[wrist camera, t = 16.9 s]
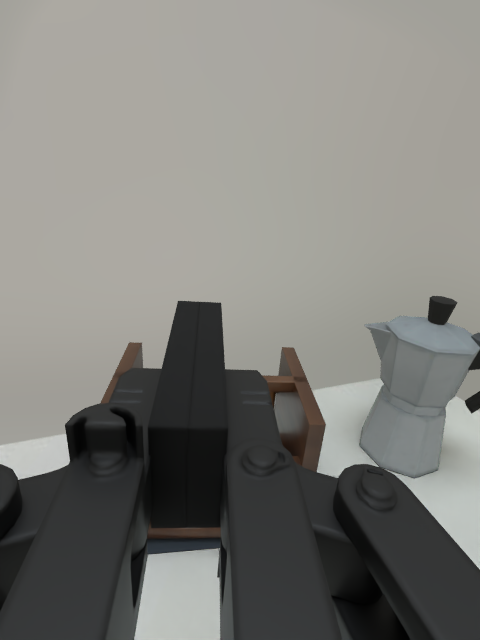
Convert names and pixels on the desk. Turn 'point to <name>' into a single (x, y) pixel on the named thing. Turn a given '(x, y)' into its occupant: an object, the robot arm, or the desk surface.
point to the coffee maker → (417, 387)
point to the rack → (291, 414)
